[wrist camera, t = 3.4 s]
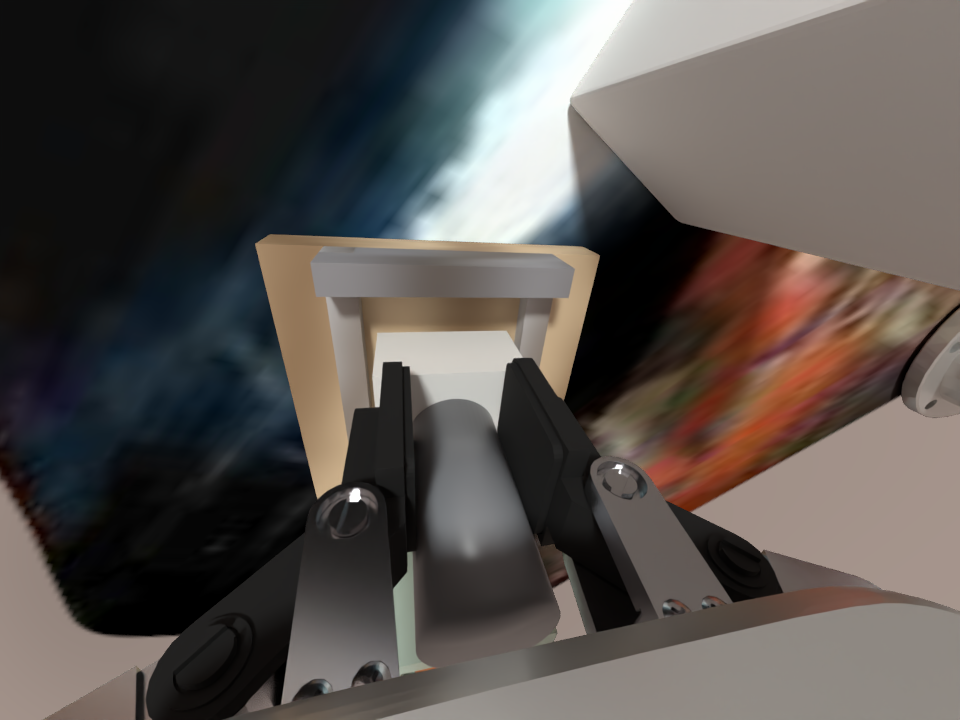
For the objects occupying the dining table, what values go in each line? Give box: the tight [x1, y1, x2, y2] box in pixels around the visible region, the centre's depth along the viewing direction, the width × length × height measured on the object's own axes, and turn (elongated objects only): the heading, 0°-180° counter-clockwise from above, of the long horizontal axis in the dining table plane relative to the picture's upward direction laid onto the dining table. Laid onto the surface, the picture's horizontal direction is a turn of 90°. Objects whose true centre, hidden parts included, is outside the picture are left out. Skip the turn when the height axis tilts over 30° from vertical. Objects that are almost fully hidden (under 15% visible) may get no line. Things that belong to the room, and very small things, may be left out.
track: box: [255, 234, 600, 499], centre depth 17 cm, size 12×22×4 cm, turn 176°
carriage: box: [372, 331, 560, 668], centre depth 11 cm, size 5×5×9 cm
